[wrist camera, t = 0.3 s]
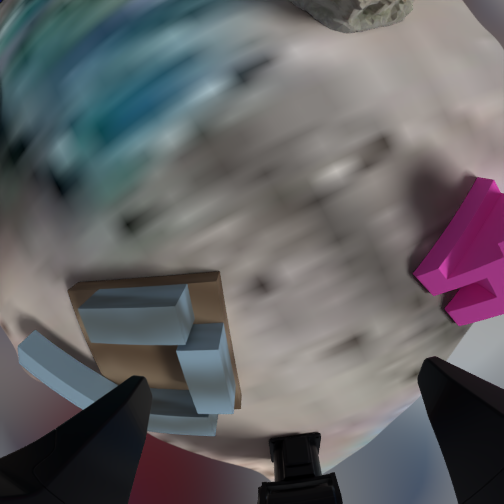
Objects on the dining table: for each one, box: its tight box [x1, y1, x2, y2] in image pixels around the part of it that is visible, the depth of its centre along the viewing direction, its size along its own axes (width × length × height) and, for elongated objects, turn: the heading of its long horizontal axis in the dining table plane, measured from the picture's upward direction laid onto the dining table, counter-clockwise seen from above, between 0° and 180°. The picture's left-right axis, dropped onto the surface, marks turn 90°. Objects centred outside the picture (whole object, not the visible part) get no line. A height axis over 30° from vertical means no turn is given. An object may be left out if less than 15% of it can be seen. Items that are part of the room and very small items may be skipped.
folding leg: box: [18, 330, 118, 410], centre depth 21 cm, size 14×3×4 cm, turn 61°
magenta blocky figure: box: [413, 177, 504, 326], centre depth 16 cm, size 12×10×10 cm
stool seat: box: [68, 271, 242, 436], centre depth 21 cm, size 14×14×6 cm
